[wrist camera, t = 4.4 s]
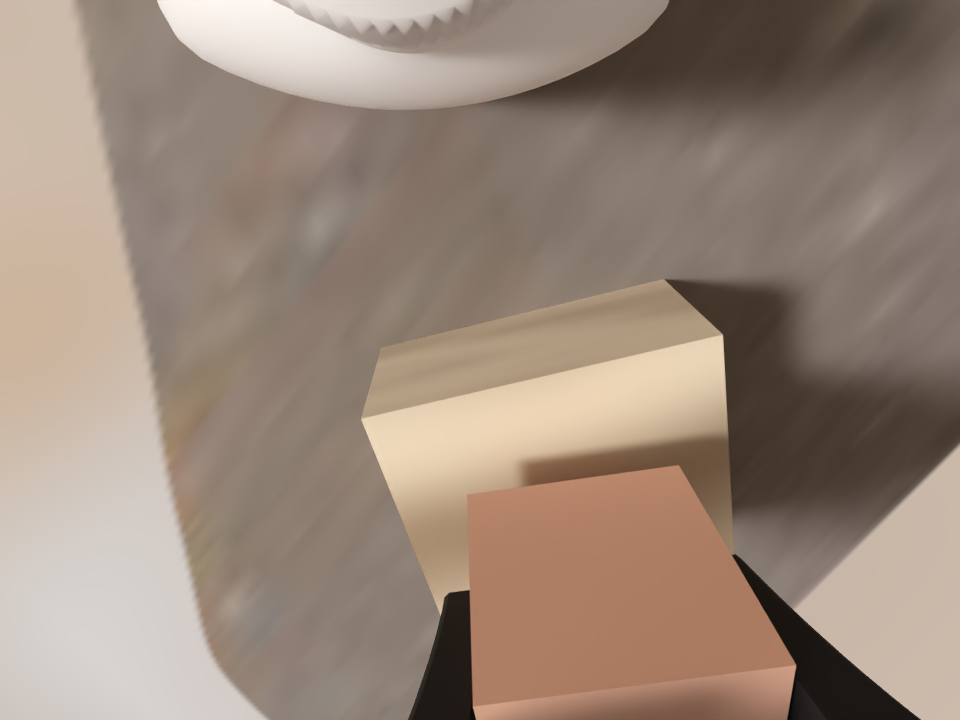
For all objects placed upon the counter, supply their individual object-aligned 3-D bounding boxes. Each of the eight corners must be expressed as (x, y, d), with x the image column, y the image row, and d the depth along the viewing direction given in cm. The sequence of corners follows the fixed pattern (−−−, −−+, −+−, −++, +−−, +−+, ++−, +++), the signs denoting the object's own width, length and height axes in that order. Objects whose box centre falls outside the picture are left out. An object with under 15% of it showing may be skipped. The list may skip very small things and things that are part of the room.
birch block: (683, 496, 19) (736, 593, 15) (454, 544, 19) (454, 649, 16) (660, 276, 15) (723, 334, 12) (382, 343, 16) (361, 419, 12)
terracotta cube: (675, 612, 14) (767, 832, 10) (494, 635, 14) (510, 862, 10) (678, 465, 12) (796, 664, 8) (467, 494, 12) (472, 706, 8)
